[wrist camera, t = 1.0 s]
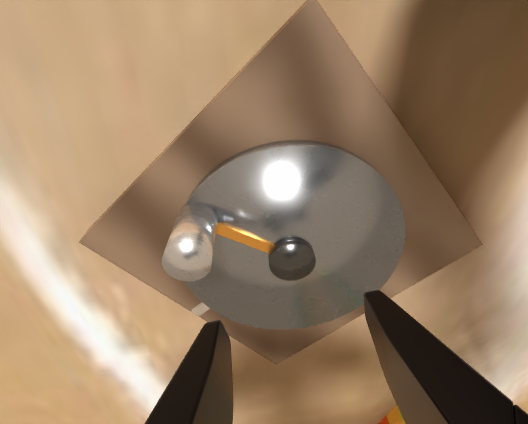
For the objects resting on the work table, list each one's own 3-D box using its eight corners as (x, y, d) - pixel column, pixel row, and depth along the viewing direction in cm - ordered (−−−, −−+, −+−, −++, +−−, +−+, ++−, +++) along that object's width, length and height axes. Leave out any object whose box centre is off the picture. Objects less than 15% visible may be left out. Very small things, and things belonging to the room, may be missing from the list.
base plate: (308, -2, 15) (315, -5, 14) (470, 232, 24) (484, 246, 22) (88, 229, 22) (77, 244, 20) (275, 349, 30) (276, 366, 29)
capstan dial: (447, 202, 20) (501, 250, 16) (321, 338, 27) (335, 397, 22) (231, 89, 16) (225, 113, 11) (146, 283, 22) (123, 345, 18)
